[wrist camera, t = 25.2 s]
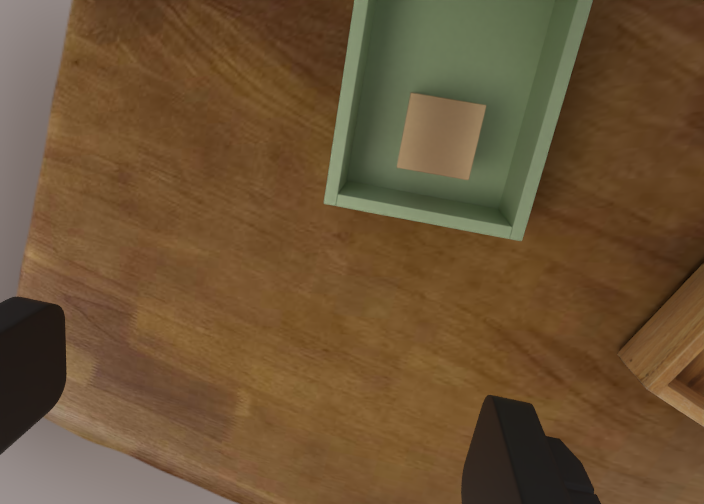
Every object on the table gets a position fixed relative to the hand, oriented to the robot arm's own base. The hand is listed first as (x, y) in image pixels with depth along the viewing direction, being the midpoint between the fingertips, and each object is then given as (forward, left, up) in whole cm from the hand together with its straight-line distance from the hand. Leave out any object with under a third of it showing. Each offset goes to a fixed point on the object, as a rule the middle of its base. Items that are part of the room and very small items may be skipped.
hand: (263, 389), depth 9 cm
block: (+4, +4, -27) cm, 28 cm away
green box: (+4, +6, -28) cm, 29 cm away
